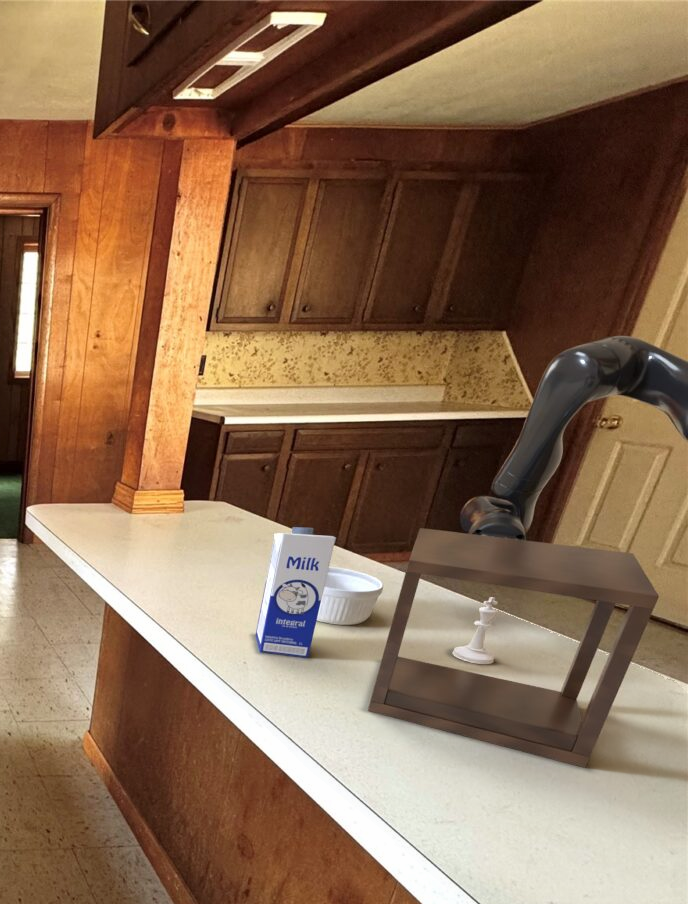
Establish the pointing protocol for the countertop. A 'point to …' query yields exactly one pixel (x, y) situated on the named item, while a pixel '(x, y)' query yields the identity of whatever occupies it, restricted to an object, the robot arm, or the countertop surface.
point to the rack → (502, 701)
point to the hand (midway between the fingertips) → (496, 561)
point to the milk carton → (293, 592)
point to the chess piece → (478, 638)
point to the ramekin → (348, 596)
